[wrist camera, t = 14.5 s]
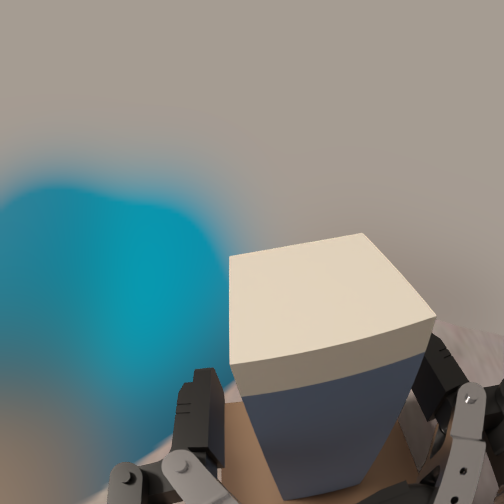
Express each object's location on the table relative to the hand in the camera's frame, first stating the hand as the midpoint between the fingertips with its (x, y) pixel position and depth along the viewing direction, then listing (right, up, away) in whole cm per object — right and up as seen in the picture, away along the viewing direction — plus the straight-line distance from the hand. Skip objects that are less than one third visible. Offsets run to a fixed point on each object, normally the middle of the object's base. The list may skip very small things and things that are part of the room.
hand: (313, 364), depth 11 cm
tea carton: (+2, -8, +3) cm, 9 cm away
